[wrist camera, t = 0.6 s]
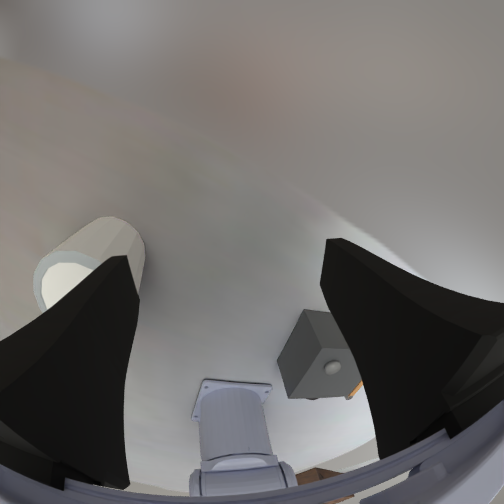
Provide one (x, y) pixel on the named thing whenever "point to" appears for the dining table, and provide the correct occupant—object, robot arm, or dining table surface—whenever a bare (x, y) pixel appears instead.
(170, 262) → the dining table surface
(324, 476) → the tissue box cover
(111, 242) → the white cup
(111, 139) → the dining table surface
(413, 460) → the robot arm
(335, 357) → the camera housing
